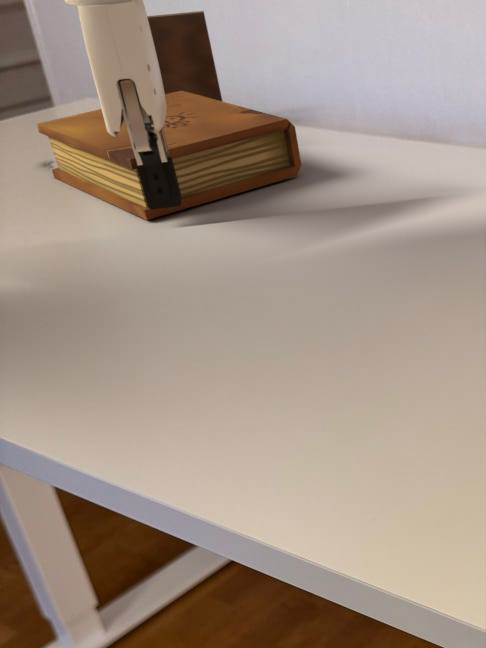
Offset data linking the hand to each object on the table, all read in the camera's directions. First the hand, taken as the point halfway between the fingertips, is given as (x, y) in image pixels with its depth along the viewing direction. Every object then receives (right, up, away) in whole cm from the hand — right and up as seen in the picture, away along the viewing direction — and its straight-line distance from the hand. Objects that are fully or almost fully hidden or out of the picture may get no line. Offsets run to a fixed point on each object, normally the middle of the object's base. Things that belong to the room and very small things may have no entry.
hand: (165, 204), depth 91 cm
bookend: (-9, +25, +31) cm, 40 cm away
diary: (-3, +9, +13) cm, 16 cm away
